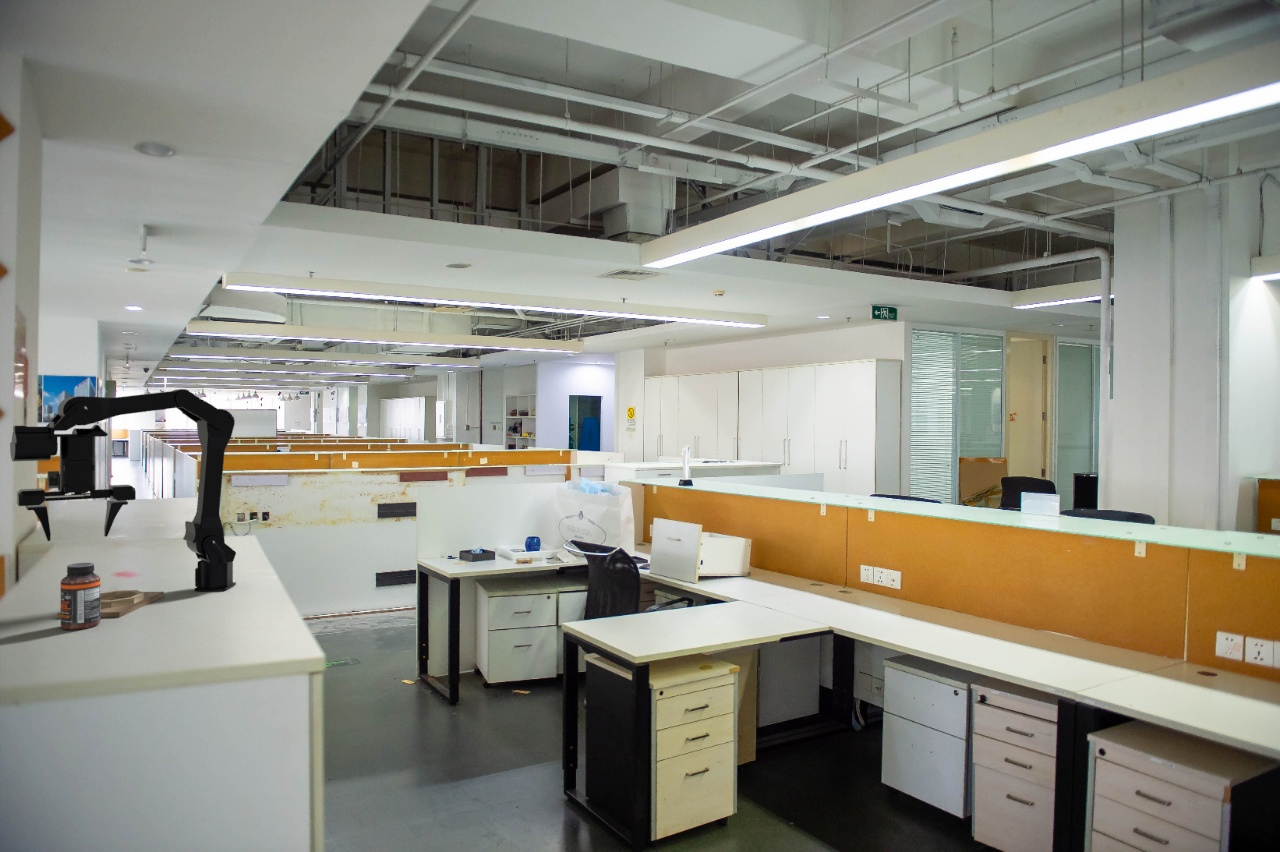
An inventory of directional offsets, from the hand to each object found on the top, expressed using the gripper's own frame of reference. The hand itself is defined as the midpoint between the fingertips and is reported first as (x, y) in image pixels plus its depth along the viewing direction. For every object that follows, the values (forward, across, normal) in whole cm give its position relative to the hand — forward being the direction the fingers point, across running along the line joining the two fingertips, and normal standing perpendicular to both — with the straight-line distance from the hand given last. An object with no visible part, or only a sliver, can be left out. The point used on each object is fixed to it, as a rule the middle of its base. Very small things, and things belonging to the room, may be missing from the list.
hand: (77, 538), depth 155 cm
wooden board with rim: (+14, -6, +3) cm, 15 cm away
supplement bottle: (+14, +1, +16) cm, 21 cm away
